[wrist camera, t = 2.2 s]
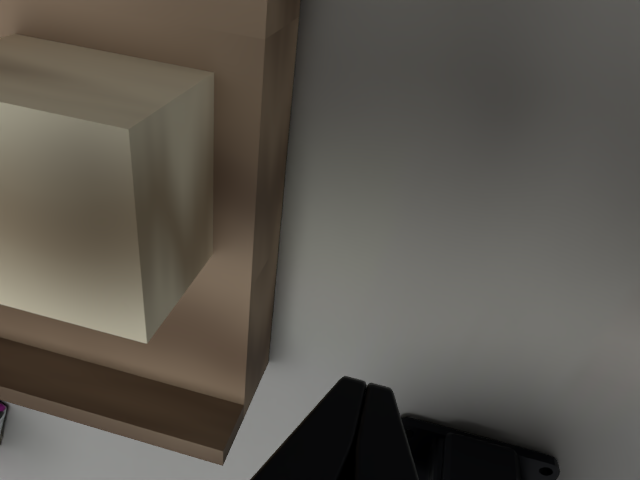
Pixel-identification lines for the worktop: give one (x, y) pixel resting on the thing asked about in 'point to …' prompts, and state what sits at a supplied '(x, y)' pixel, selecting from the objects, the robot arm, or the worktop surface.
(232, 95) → the brown wooden tray
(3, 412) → the candy bar box
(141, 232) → the birch block
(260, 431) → the worktop surface
